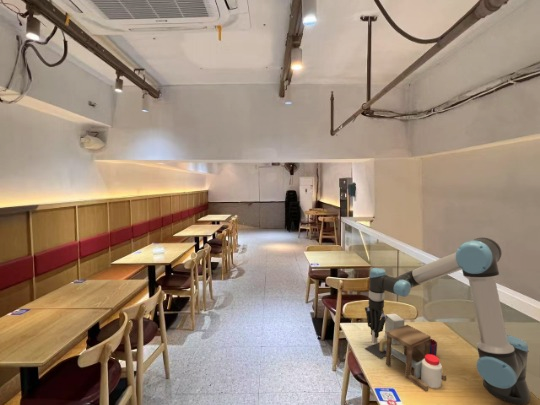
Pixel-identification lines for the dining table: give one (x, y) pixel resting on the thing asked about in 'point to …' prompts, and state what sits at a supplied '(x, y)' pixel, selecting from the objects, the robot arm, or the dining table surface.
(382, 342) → the plunger
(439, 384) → the pill bottle
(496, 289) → the robot arm
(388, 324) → the small box
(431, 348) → the mug
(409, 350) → the tunnel
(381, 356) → the mat
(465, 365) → the dining table surface
